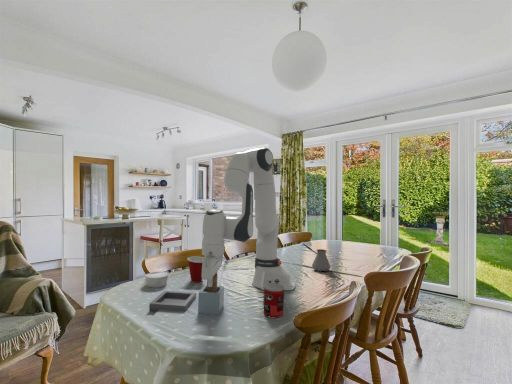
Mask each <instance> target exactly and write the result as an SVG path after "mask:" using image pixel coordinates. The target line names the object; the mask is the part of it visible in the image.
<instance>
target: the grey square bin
mask: <svg viewBox="0 0 512 384" xmlns="http://www.w3.org/2000/svg"><path fill="white" fill-rule="evenodd" d="M224 299H225V286H222V285H217V292H207V284H205V285H203V286H202V287H201V288H200V290H199V291H198V299H197V300H198V302H197V306H198V307H197V313H198V314H206V315H220V314H221V312H222V310H223V308H224V306H225V305H224V302H225V300H224Z"/></svg>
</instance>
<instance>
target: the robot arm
mask: <svg viewBox="0 0 512 384" xmlns="http://www.w3.org/2000/svg"><path fill="white" fill-rule="evenodd" d="M273 164H274V155H273V152H272V151H271V150H270V149H269V148H267V147H260V148H253V149H252V148H251V149H248V150H246V151H243V152H235V153H234V154H233V155H232V156H231V158H230V160H229V162H228V164H227V167H226V169H225V170H226V171H225V174H224V178H223V183H224V186H225V188H226V189H227V190H228V191H229V192H230V193H232V194H234V195H237V197H240V198H241V201H242V202H241V215H240V216H238V217H236V216H226V215H225V212H224V210H223V209H220V208H213V209H209V210H206V211H205V212H204V216H203V220H202V236H203V237H202V240H201V242H202V243H201V255H202V256H204V259H203V263H202V281H203V280H205V281H206V282H207V281H208V287H212V286H213V276H214V275H215V274H217V275H218V271H219V270H220V269H221V267H222V265H223V258H224V255H225V249H226V246H225V240H229V241H230V240H232V241H237V242H242V243H245V242H247V241H248V240H250V239H251V238H252V237H253V235H254V225H255V228H256V229H257V237H256V242H255V243H256V244H255V245H256V246H255V247H256V248H255V257H254V275H253V278H252V282H251V285H252V286H253V287H255V288H258V289H260V290H262V291H264V286H265V285H267V284H279V285H282V286H284V291H293V290H294V289H295V288H296V283H295V282H294V281H293V280H292V279H291V275H290V272H289V271H288V270H286V269H285V268H284V267H283V266H282V260H281V259H280V258H278V256H277V255H278V241H279V240H278V237H279V224H280V223H279V222H280V219H279V216H278V215H279V214H278V213H277V201H276V200H277V197H276V188H275V179H274V173H273V170H272V166H273ZM250 173H252V174H253V177H252V179H253V180H252V181H253V186H252V185H251V184H250V183H249V178H250ZM253 215H254V216H253ZM253 217H254V218H253ZM253 220H254V221H253ZM254 223H255V224H254ZM224 239H225V240H224Z"/></svg>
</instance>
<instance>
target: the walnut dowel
mask: <svg viewBox="0 0 512 384" xmlns="http://www.w3.org/2000/svg"><path fill="white" fill-rule="evenodd" d="M206 285H207V292H217V286H218V273H217V274H215V275H214V276H213V286H212V287H208V281H207V280H206Z"/></svg>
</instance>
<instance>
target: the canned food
mask: <svg viewBox="0 0 512 384" xmlns="http://www.w3.org/2000/svg"><path fill="white" fill-rule="evenodd" d="M284 301H285V290H284V286H282V285H279V284H267V285H265V286H264V290H263V314H264V315H265V316H266V315H267V316H266V317H268V316H270V317H269V318H272V317H277V318H280V317H279V316H281V315H282V316H283V314H284V305H285V303H284ZM282 316H281V317H282Z"/></svg>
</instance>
